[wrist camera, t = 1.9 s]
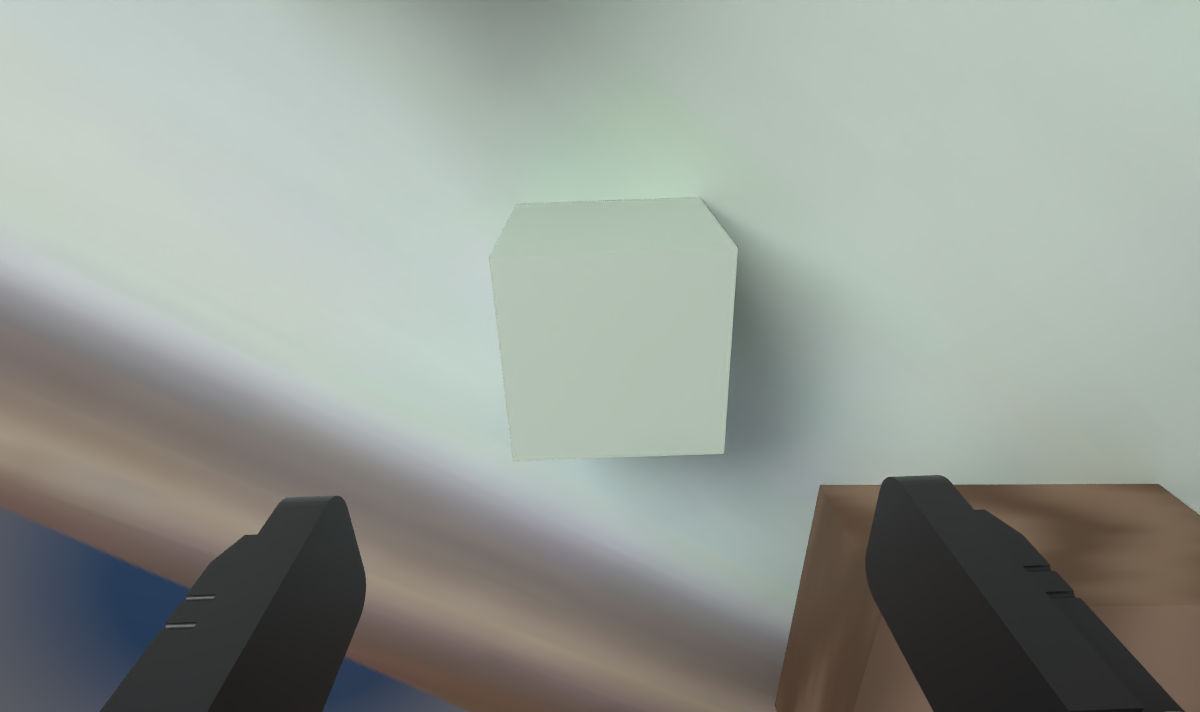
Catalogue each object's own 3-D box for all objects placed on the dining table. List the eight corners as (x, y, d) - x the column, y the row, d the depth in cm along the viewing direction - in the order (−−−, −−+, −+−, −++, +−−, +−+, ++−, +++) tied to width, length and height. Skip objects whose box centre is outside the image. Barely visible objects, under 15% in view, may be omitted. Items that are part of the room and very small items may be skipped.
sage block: (698, 196, 18) (737, 248, 13) (692, 359, 21) (724, 453, 16) (516, 203, 18) (489, 257, 13) (532, 365, 21) (513, 461, 16)
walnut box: (1151, 479, 24) (1317, 604, 18) (1042, 697, 29) (1143, 841, 24) (817, 480, 23) (883, 606, 18) (773, 699, 29) (814, 844, 24)
